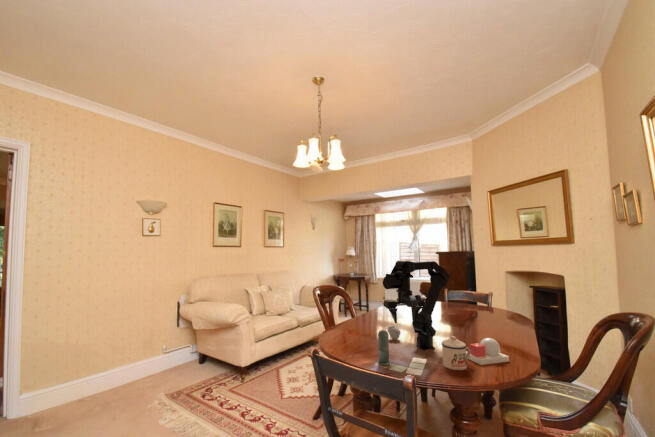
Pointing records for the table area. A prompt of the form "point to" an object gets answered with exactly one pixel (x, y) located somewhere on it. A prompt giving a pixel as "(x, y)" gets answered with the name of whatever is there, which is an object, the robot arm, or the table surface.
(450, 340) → the teacup with lid
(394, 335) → the frog figurine
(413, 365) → the track
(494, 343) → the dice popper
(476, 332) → the table surface
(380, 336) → the pawn
